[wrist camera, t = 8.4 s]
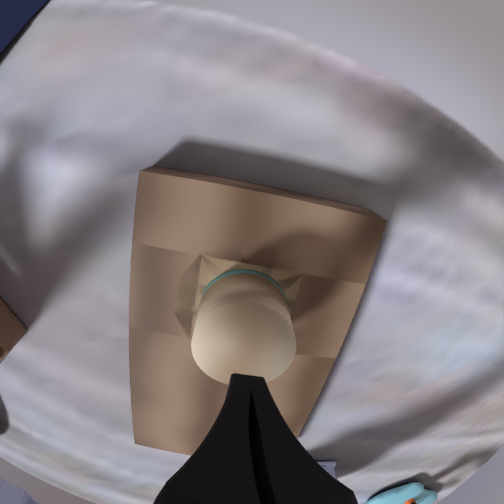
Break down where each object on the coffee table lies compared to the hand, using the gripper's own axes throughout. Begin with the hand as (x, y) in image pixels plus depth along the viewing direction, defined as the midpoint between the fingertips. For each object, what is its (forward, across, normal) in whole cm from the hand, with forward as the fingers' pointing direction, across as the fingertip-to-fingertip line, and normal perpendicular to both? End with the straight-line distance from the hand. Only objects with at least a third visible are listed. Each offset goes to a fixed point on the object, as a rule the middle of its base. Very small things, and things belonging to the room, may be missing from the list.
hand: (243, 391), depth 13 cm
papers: (+10, +36, -15) cm, 40 cm away
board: (+9, 0, +5) cm, 11 cm away
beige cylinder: (+9, 0, 0) cm, 9 cm away
